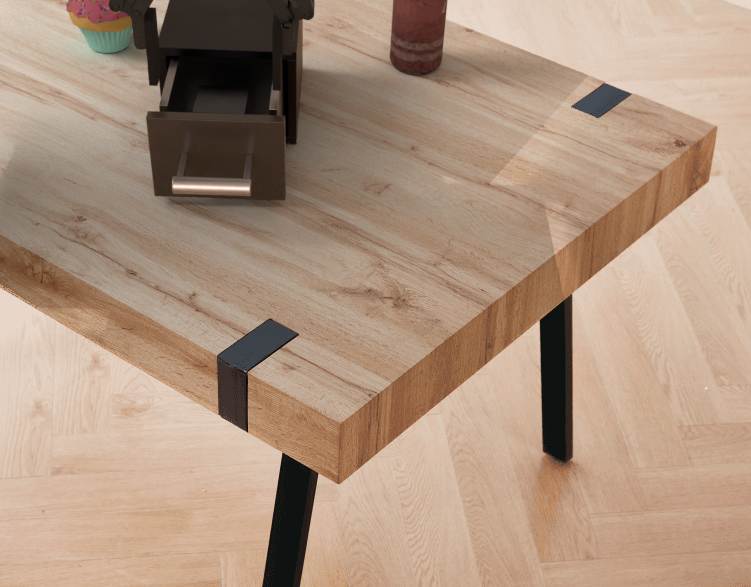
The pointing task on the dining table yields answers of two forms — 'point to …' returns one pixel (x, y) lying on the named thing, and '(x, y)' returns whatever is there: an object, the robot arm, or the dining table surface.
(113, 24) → the cupcake
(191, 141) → the drawer
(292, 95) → the dark brown cabinet
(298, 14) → the robot arm
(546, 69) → the dining table surface
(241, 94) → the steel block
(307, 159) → the dining table surface
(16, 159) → the dining table surface
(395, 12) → the can
